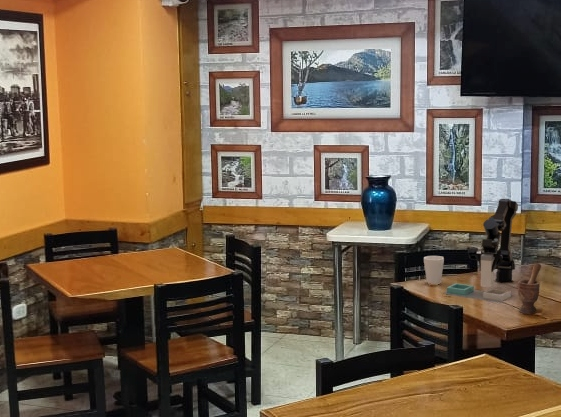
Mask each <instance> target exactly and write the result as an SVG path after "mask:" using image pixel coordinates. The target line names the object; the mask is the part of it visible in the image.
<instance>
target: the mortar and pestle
mask: <svg viewBox="0 0 561 417" xmlns="http://www.w3.org/2000/svg"><path fill="white" fill-rule="evenodd" d="M541 268H542V265H541V264H540V263H537V262H536V263H535V264H534V265H533V268H532V271H531V275H530V278H529V279H520V280H518V282H517V295H518V297H519V300H520V301H521V303H522V305H521V306H520V307H519V308H518V312H519V313H520V314H521V313H522V314H523V315H534V314H536V313H537V310H538V309H537V307H535V303H536V302H537V301H538V299H539V296H540V289H541V288H540V285H541V284H540V281H538V280H536V279H537V277H538V274H539V273H540V271H541Z"/></svg>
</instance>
